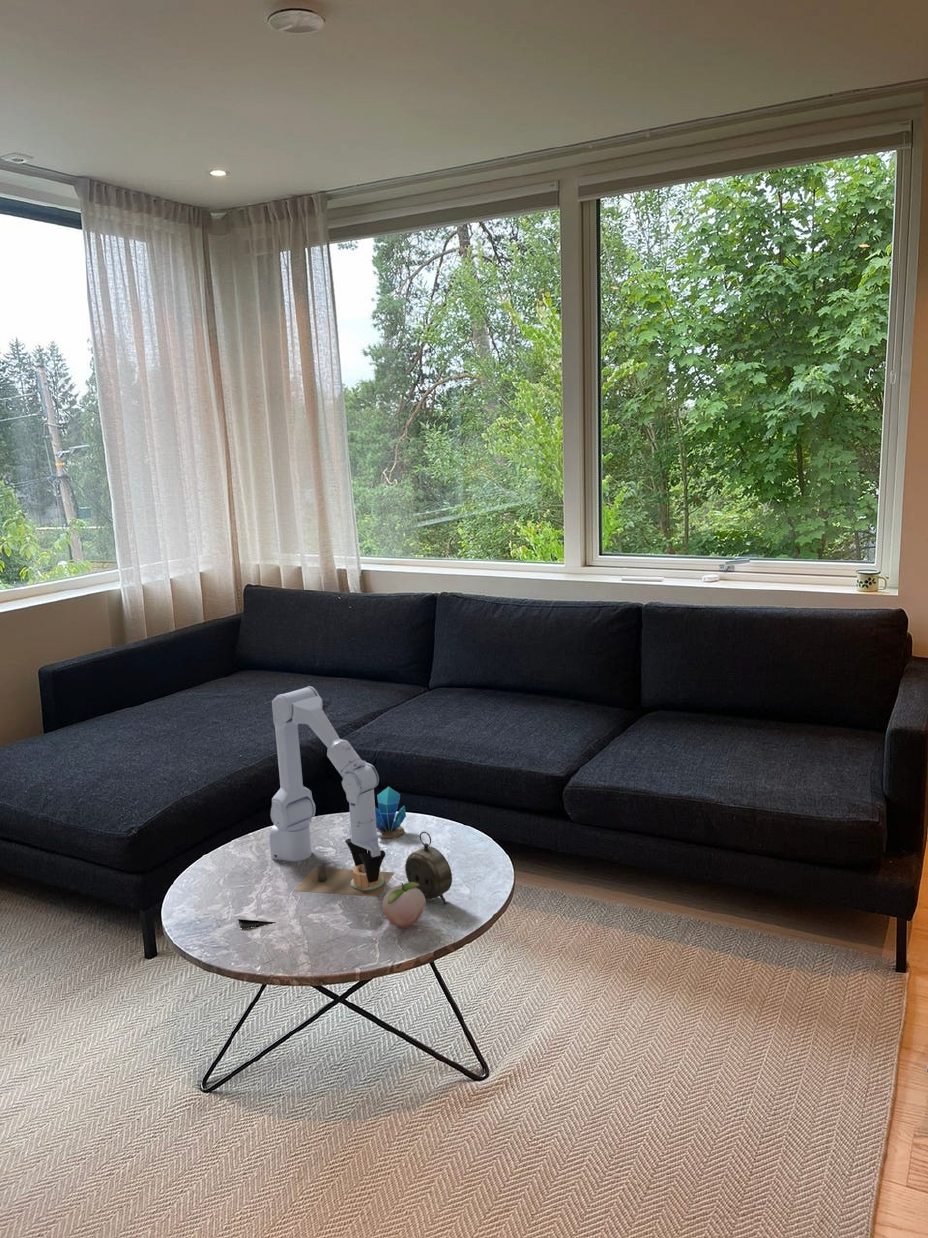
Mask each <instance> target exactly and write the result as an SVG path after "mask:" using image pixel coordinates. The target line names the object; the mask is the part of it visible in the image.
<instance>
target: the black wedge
mask: <svg viewBox="0 0 928 1238" xmlns="http://www.w3.org/2000/svg"><path fill="white" fill-rule="evenodd" d="M237 921H239V922H238V924H239V925H240V926H239V928H242V929H241V930H243V929H245V930H248V929H247V928H250V929H252V928H251V927H255V928H257V927H256V926H260V927H263V926H264V925H265V926H268V925H269V924H270V925H274V924H276V921H266V920H254V919H253V920H252V919H240V918H239V919H237ZM273 923H274V924H273ZM270 925H269V926H270Z"/></svg>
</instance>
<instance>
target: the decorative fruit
mask: <svg viewBox="0 0 928 1238" xmlns="http://www.w3.org/2000/svg"><path fill="white" fill-rule="evenodd" d="M417 886H420V885H419V884H418V883H416V882H406V883H404V882H402V883H401V884H400V885H396V886H394V887H392V888H391V889H390V890H389V891H387V893H385V895H384V896H383V899H382V906H381V907H382V911H383V914H384V916H385V918H386V919H387V921H388V922H389V923H390V924H392V926H395V927H397V928H402V929H407V928H410V927H411V926H412V925H414V924H415V923H416V922H418V920H419V919H420V917H421V915H422V914H423V912H424V910H425V907H426V899H425V896H424V894H423V893H422V891H421V890H420V889H418V888H417Z"/></svg>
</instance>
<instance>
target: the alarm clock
mask: <svg viewBox="0 0 928 1238" xmlns="http://www.w3.org/2000/svg"><path fill="white" fill-rule="evenodd" d="M423 834H426V835H427V836H428V838H429V844H428V843H424V842H423V841H422V835H423ZM419 841H420V843H421V844H422V845H423V846H422V847H420V848H419V849H417V850H415V851H413V852H411V853H410V854H409V855H408V856H407V858H406V860H405V865H404V867H405V868H404V869H405V870H404V872H405V875H406V879H407V881H408V882H416V883H418V884H419V885H420V886H417V888H418V889H420V890H421V891H422V893H423V894H424V896H425V900H435V899H437V898H438V897H440V899H441V901H442V903H443V905H444V906H445V905H447V903H448V902H447V901H446V898H445V896H444V894H445V893H447V892H448V891H449V890H450V889H451V887H452V882H453V873H452V870H451V866H450V864H449V862H448V860H447V858H446V857H445V856H444V854H443V853H442V852H441V851H440V850H438V849H437V848H435V847H434V846H431V844H432V837H431V835H430V833H429V832H427V831H421V832H420V834H419ZM408 882H407V883H408Z"/></svg>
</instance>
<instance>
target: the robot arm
mask: <svg viewBox="0 0 928 1238" xmlns="http://www.w3.org/2000/svg"><path fill="white" fill-rule="evenodd" d="M271 709H272V710H271V711H272V720H273V725H274V729H275V739H276V740H275V741H276V750H277V751H276V753H277V763H278V772H279V773H278V774H279V785H280V788H279V789H278V790H277V792H276V793H275V794H274V795H273V797H272V798H271V808H270V819H271V822H272V823H273V825H272V826H271V829H270V831H269V849H270V859H271V860H278V861H279V860H280V861H281V860H282V861H286V862H301V861H305V860H307V859H308V858H311V856H312V853H313V852H312V842H311V841H312V840H311V832H310V831H311V829H310V824H311V823H312V818H314V817H315V815H316V804H315V802H314V800H313V795H312V790H310V788H307V787H306V786H304V784H303V782H304V781H303V773H302V772H303V771H302V762H301V761H302V759H301V749H300V737H299V728H298V726H299V724H301V725H307V726H308V727H309V728H310V729H311V731H313V733H314V734H315V735H316V736H317V737H318V738H319V740H320V741H321V742H322V743H323V745H325V747H326V748H327V750H326V751H327V752H326V756H327V758H328V759H329V761H330V762H331V763H332V765H333V766H334V767H335V769H336V771H337V772H338V773H339V775H340V776H341V777H342V780H341V786H342V788H343V791H344V792H345V795H346V800H347V802H348V803H349V805H348V806H349V817H350V818H349V819H350V820H349V821H350V826H349V835H350V838H347V839H345V841H344V842H345V844H346V845H347V847H348V849H349V850H350V853H351V856H352V859H353V863H354V866H355V867H356V866H358V865H361V864H364V867H365V871H366V876H367V880H368V882H369V883H371V882H375V881H378V877H379V871H380V872H381V866H382V863H383V861H384V860H385V857H386V852H385V850H383V849H381V846H380V845H379V839H382V838H381V837H382V834H381V833H380V832H377V829H376V814H375V807H376V803H375V788H377V786H378V785H379V781H380V777H379V774H378V771H377V770H376V768H375V766H374V765H373V764H371V763H369V762H367V761H366V760H363V759H362V758H361V757H360V755H359V754H358V753H357V752H356V750H355V749H354V747H353V746H352V745H351V744H350V742H349V741H348V740H346V739H341V738H340V737H339V734H338V733H337V731H336V730H335V727H334V726H333V725H332V723H331V722H330V720H329V718H328V716H327V715H326V713H325V712H324V710H323V698H322V697H321V696H320V694H319V692H318V691H317V689H315V688H314V687H313V686H309V685H308V686H306V687H303V688H299V689H296V690H292V691H290V692H286V693H281V694H277V695H276V696H275V697H274V698H273V700H272V701H271Z"/></svg>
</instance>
